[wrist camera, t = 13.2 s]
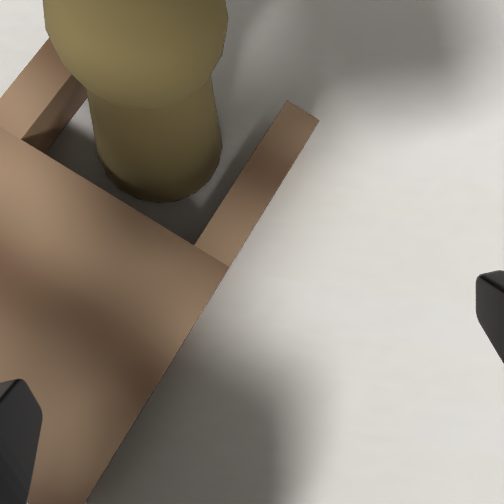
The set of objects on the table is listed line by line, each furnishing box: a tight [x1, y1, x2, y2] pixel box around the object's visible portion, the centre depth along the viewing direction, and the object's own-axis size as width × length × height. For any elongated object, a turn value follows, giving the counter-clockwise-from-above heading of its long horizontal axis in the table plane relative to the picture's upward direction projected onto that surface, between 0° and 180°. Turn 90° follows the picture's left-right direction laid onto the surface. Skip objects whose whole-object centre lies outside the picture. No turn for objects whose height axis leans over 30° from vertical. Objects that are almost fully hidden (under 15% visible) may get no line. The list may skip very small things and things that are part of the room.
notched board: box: [0, 37, 319, 504], centre depth 20 cm, size 20×12×2 cm, turn 149°
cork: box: [43, 0, 228, 203], centre depth 17 cm, size 6×6×11 cm
